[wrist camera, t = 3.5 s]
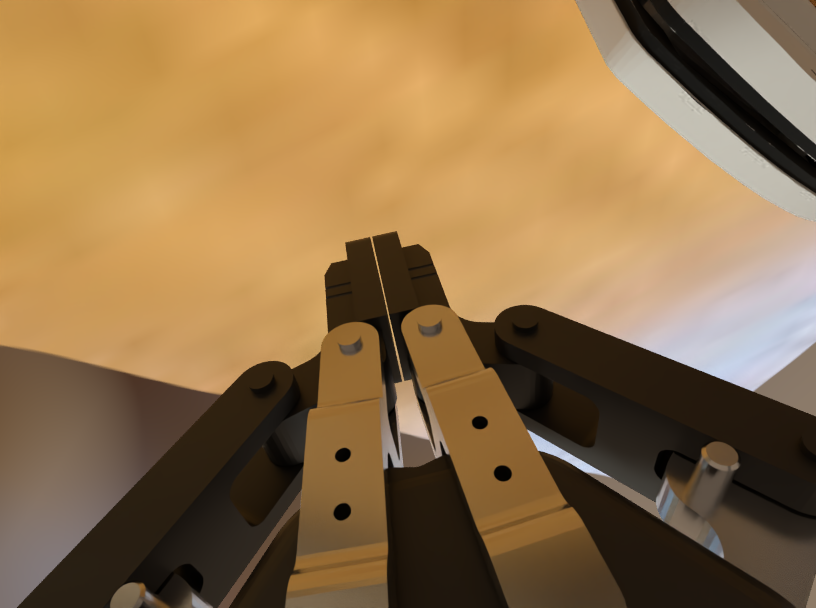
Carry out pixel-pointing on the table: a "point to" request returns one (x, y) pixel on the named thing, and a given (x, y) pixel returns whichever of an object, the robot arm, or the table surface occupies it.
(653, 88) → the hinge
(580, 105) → the table surface
